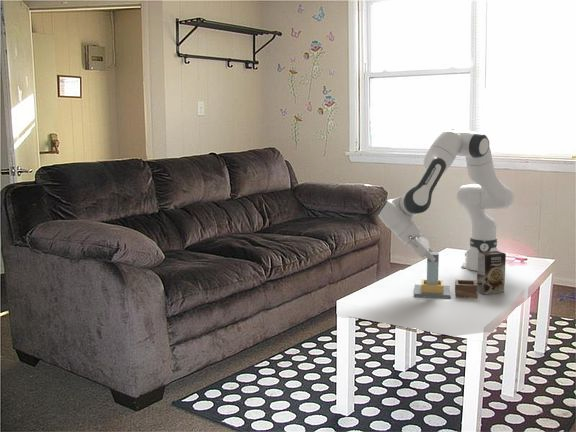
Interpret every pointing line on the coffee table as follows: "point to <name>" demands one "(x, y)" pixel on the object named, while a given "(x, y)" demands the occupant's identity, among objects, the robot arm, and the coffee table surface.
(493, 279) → the coffee box
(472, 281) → the box
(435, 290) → the dock
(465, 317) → the coffee table surface
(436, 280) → the plug
